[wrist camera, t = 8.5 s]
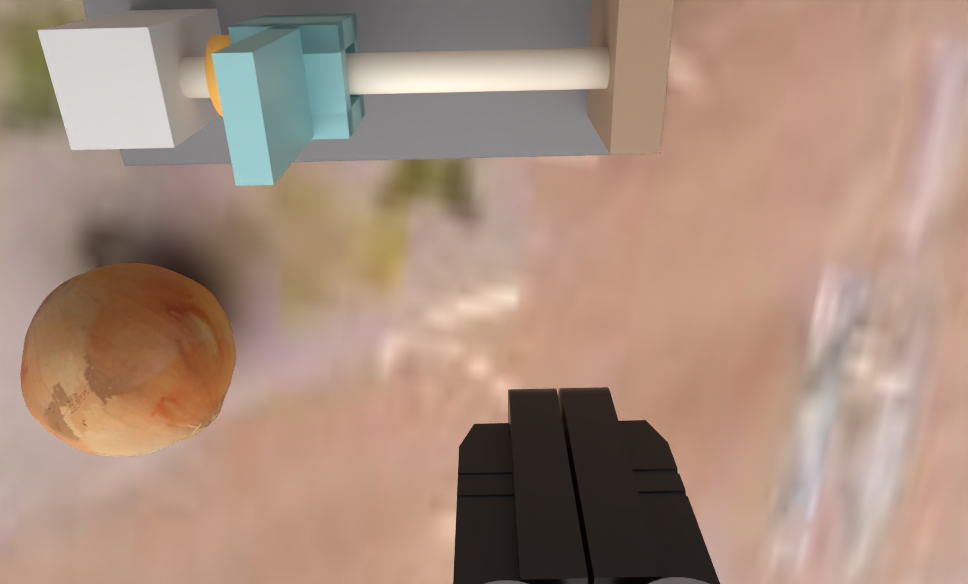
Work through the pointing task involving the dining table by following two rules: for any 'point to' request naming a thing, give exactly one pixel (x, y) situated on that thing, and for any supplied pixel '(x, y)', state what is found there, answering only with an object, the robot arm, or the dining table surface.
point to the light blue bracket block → (285, 90)
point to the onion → (127, 360)
